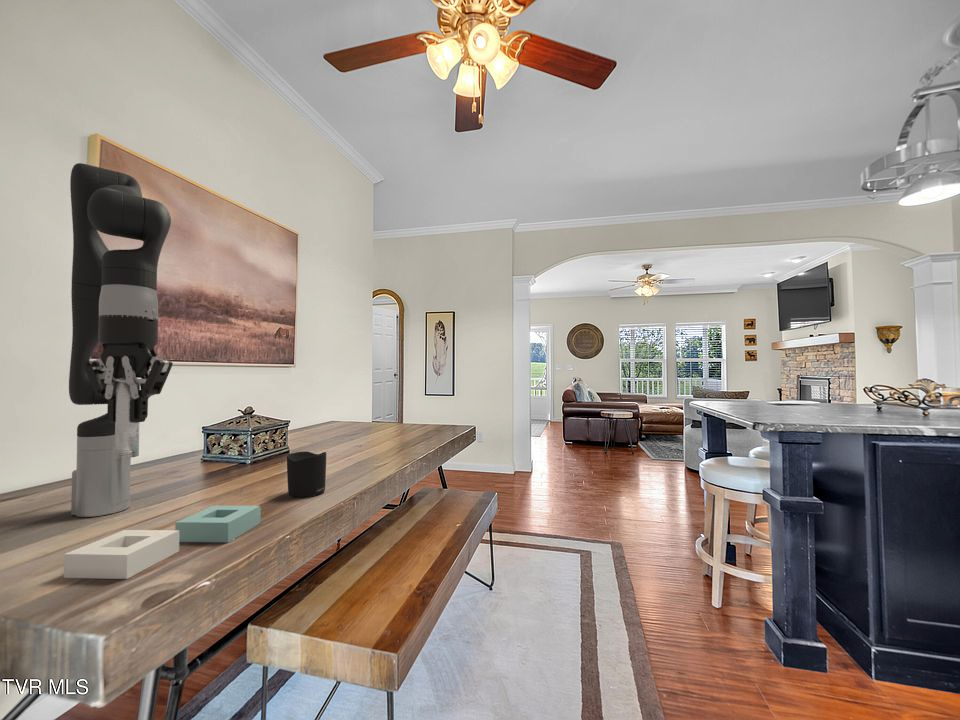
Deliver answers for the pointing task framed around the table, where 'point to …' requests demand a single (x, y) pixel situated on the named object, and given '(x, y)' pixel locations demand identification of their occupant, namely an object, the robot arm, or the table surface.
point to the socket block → (121, 554)
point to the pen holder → (306, 474)
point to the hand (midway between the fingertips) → (127, 421)
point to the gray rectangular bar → (125, 425)
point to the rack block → (218, 523)
